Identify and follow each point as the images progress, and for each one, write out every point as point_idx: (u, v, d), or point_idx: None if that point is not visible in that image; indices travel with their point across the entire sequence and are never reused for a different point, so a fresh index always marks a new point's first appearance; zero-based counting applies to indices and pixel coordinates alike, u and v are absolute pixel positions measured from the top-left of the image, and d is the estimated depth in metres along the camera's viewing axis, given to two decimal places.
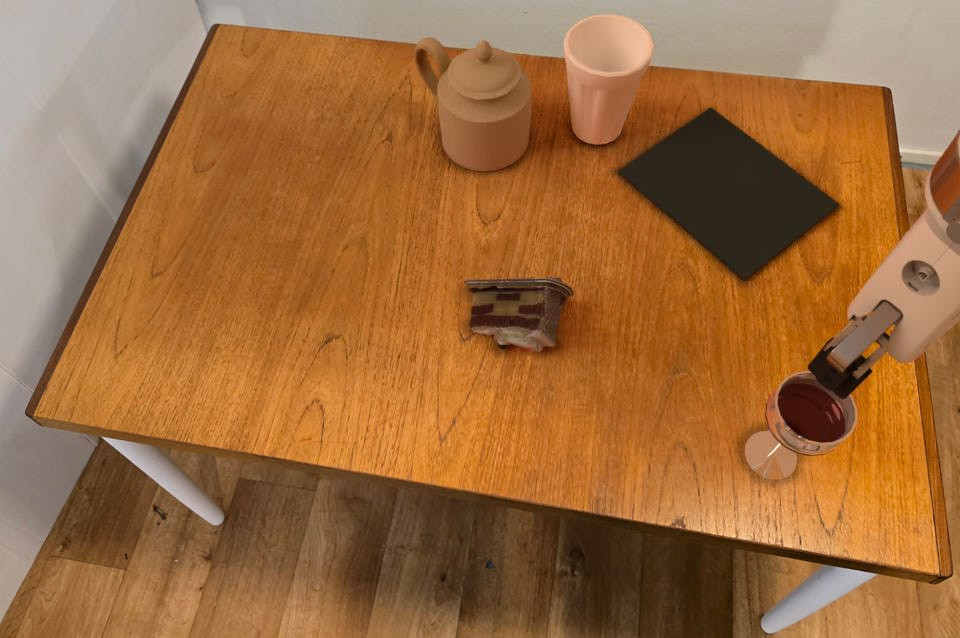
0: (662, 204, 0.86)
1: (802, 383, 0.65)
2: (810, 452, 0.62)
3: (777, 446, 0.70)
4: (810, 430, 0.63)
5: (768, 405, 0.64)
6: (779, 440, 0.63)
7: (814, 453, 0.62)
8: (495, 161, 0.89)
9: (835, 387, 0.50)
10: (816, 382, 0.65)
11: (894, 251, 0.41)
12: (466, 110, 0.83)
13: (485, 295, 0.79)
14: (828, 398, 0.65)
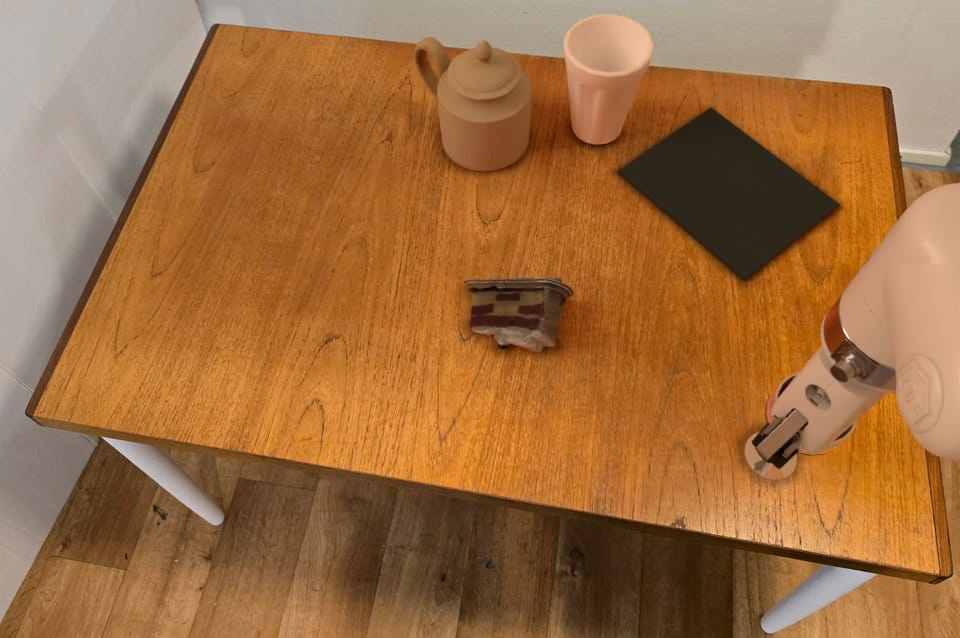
0: (662, 204, 0.86)
1: None
2: None
3: None
4: None
5: (768, 405, 0.64)
6: None
7: None
8: (495, 161, 0.89)
9: (771, 461, 0.63)
10: None
11: (799, 374, 0.53)
12: (466, 110, 0.83)
13: (485, 295, 0.79)
14: None
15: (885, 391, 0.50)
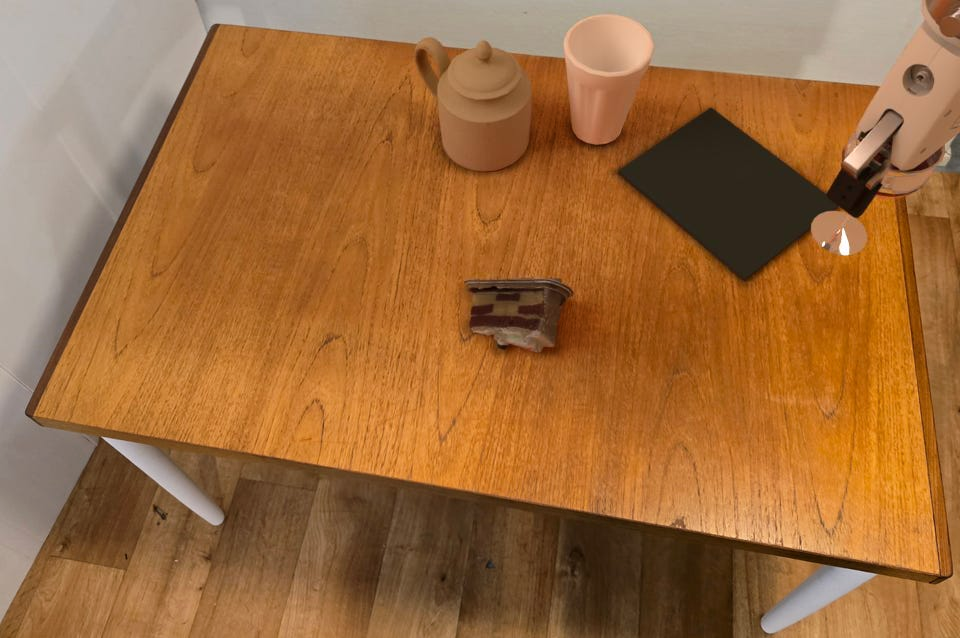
0: (662, 204, 0.86)
1: None
2: (894, 189, 0.57)
3: (848, 215, 0.66)
4: None
5: (846, 148, 0.60)
6: None
7: (898, 190, 0.57)
8: (495, 161, 0.89)
9: (850, 204, 0.59)
10: None
11: (896, 62, 0.49)
12: (466, 110, 0.83)
13: (485, 295, 0.79)
14: None
15: None
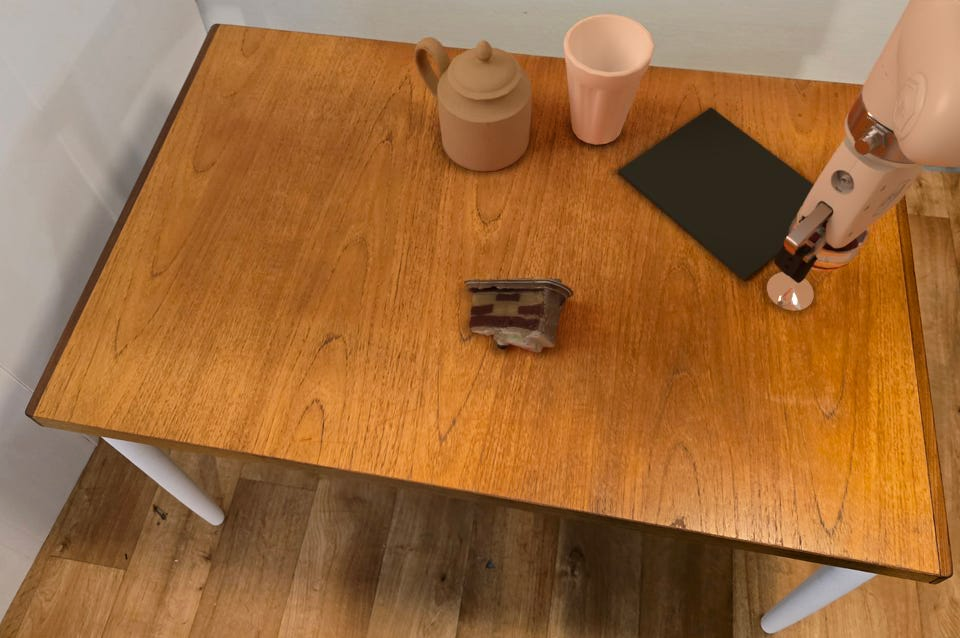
0: (662, 204, 0.86)
1: None
2: (827, 264, 0.71)
3: None
4: (827, 249, 0.72)
5: (790, 228, 0.73)
6: None
7: (831, 265, 0.71)
8: (495, 161, 0.89)
9: (792, 272, 0.70)
10: None
11: (826, 166, 0.62)
12: (466, 110, 0.83)
13: (485, 295, 0.79)
14: None
15: (901, 166, 0.58)
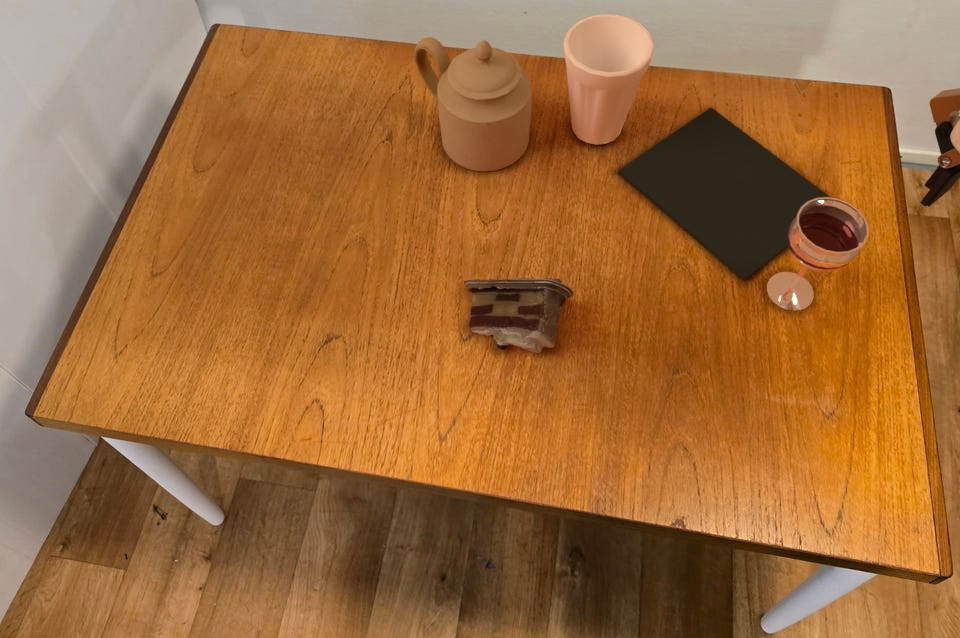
0: (662, 204, 0.86)
1: (819, 213, 0.74)
2: (827, 264, 0.71)
3: (796, 278, 0.79)
4: (827, 249, 0.72)
5: (790, 228, 0.73)
6: (800, 256, 0.72)
7: (831, 265, 0.71)
8: (495, 161, 0.89)
9: None
10: (832, 210, 0.74)
11: None
12: (466, 110, 0.83)
13: (485, 296, 0.79)
14: (842, 224, 0.73)
15: None
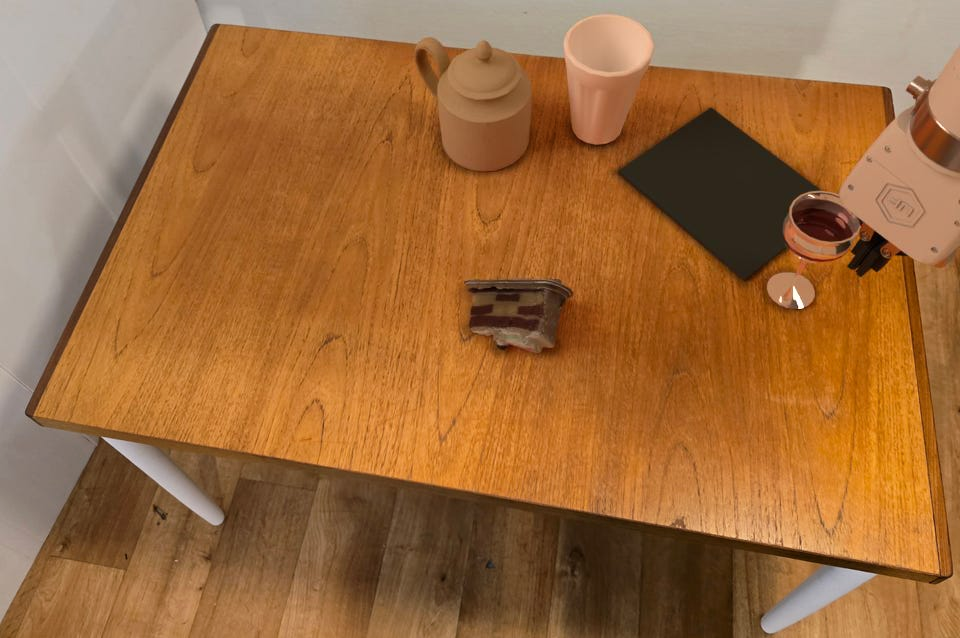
0: (662, 204, 0.86)
1: (814, 208, 0.75)
2: (822, 255, 0.71)
3: (795, 275, 0.79)
4: None
5: (784, 223, 0.73)
6: (795, 249, 0.72)
7: (826, 256, 0.71)
8: (495, 161, 0.89)
9: (853, 248, 0.70)
10: (826, 205, 0.74)
11: None
12: (466, 110, 0.83)
13: (485, 296, 0.79)
14: (837, 218, 0.74)
15: (908, 135, 0.56)
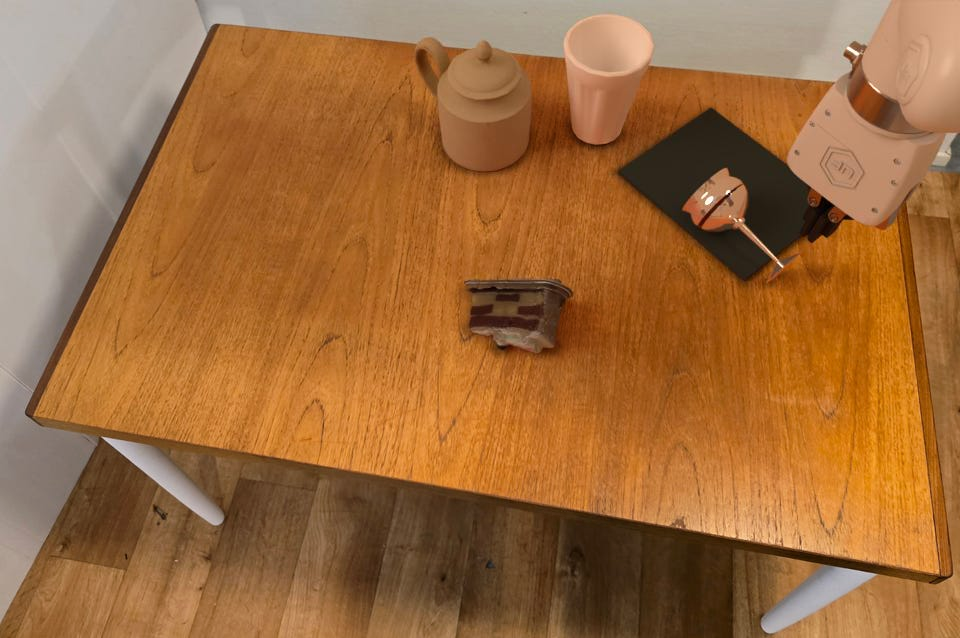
0: (662, 204, 0.86)
1: None
2: (708, 202, 0.79)
3: (764, 251, 0.80)
4: None
5: None
6: (699, 221, 0.81)
7: (711, 200, 0.79)
8: (495, 161, 0.89)
9: (803, 215, 0.72)
10: None
11: None
12: (466, 110, 0.83)
13: (485, 296, 0.79)
14: None
15: (845, 98, 0.58)
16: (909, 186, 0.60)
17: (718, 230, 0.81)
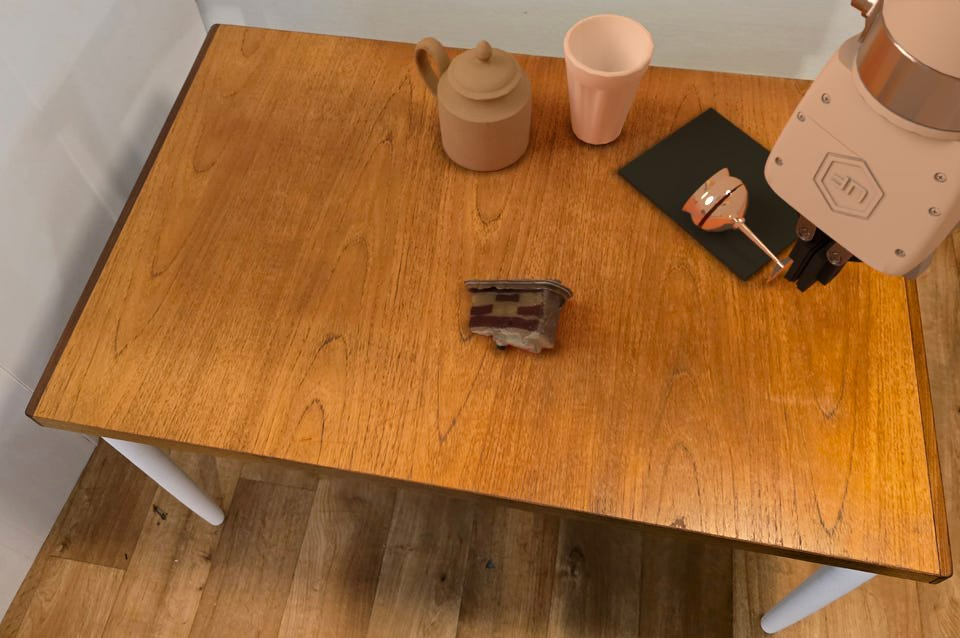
0: (662, 204, 0.86)
1: None
2: (708, 202, 0.79)
3: (764, 251, 0.80)
4: None
5: None
6: (699, 221, 0.81)
7: (711, 200, 0.79)
8: (495, 161, 0.89)
9: (791, 251, 0.49)
10: None
11: None
12: (466, 110, 0.83)
13: (484, 296, 0.79)
14: None
15: (853, 73, 0.36)
16: (957, 216, 0.37)
17: (718, 230, 0.81)
